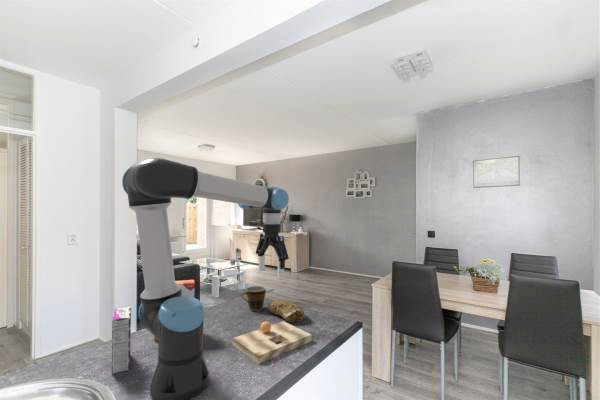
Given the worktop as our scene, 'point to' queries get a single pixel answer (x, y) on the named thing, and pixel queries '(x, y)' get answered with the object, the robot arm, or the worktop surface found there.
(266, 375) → the worktop surface
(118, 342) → the candy bar box
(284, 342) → the board
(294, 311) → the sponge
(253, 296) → the ceramic cup
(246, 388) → the worktop surface
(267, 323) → the ball
